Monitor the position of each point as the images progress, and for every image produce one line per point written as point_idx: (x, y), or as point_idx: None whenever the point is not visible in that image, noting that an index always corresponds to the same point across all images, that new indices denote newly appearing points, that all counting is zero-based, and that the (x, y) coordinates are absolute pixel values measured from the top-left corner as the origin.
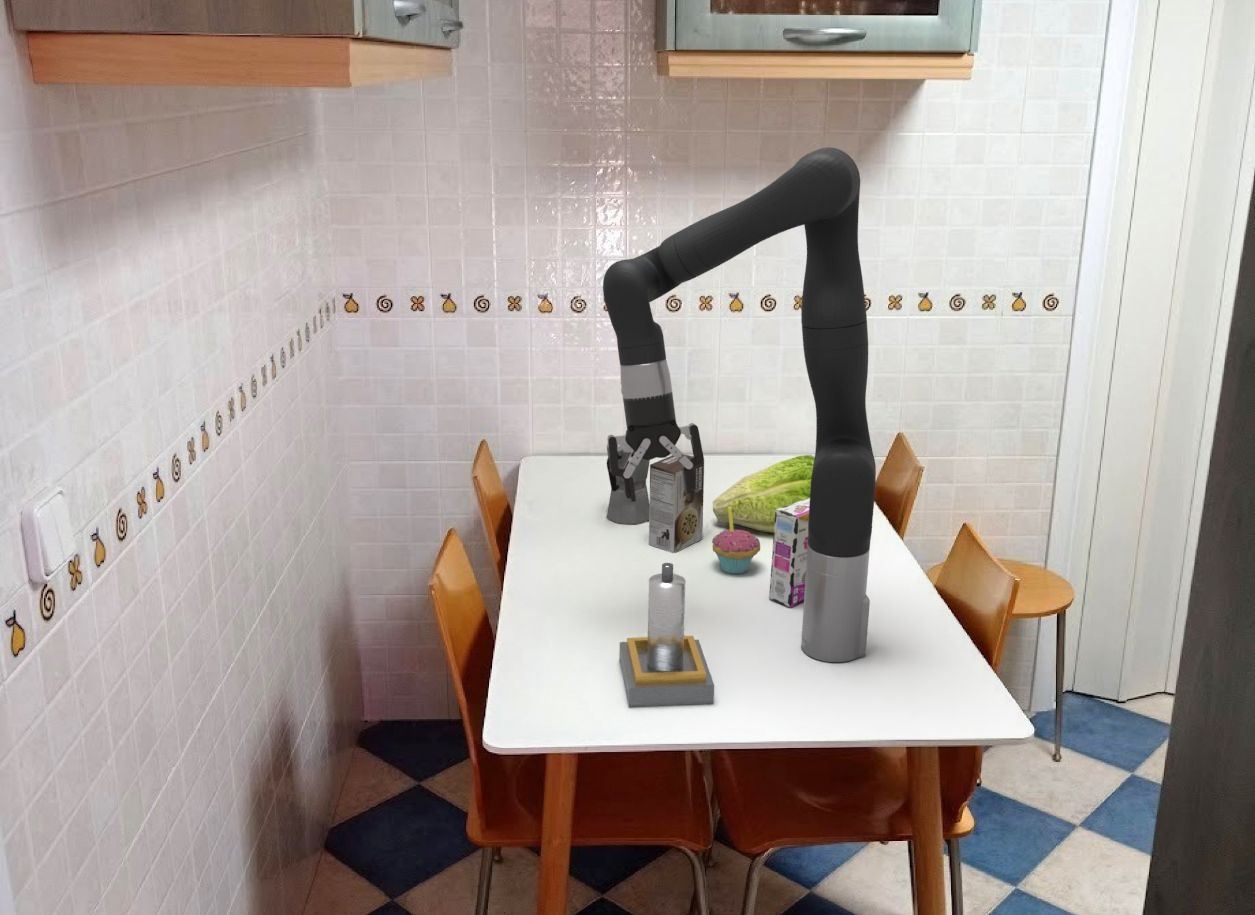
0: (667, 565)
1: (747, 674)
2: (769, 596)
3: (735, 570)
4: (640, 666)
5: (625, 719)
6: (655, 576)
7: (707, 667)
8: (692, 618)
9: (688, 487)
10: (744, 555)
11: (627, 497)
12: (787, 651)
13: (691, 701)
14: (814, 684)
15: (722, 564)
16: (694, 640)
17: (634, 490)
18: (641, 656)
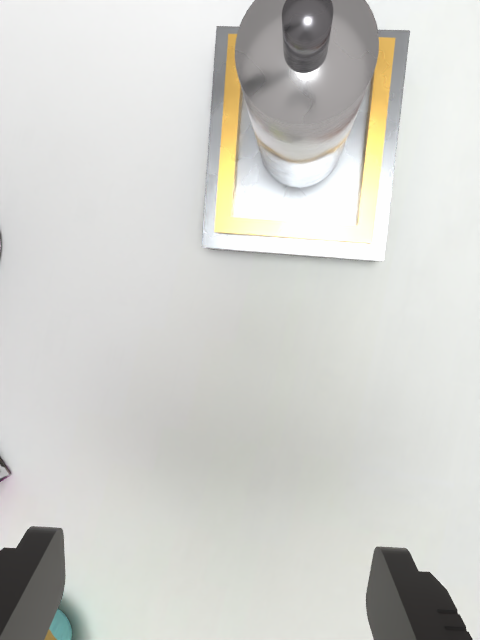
0: (309, 6)
1: (129, 162)
2: (6, 475)
3: None
4: (360, 133)
5: (416, 3)
6: (343, 94)
7: (212, 110)
8: (182, 422)
9: (30, 549)
10: None
11: (433, 578)
12: (30, 247)
13: None
14: (14, 105)
15: (65, 633)
16: (217, 206)
17: (401, 598)
18: (348, 182)
